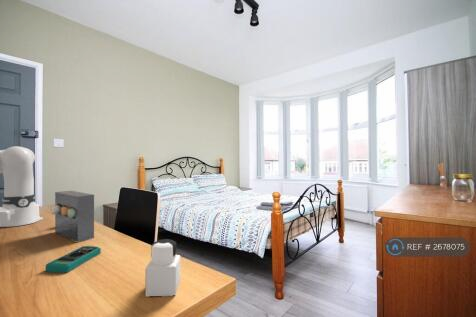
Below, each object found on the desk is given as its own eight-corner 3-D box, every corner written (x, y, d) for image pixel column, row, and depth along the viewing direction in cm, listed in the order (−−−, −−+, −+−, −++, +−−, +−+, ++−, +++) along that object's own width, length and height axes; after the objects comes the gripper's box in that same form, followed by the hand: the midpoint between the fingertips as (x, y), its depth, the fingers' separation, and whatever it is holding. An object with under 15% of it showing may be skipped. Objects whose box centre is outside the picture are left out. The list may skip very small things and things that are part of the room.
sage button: (67, 217, 94) (67, 208, 94) (74, 216, 96) (74, 207, 96) (71, 218, 92) (71, 209, 92) (78, 217, 94) (78, 208, 94)
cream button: (51, 213, 100) (51, 205, 100) (57, 212, 102) (57, 204, 102) (54, 214, 98) (54, 206, 98) (61, 213, 100) (61, 205, 100)
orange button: (60, 215, 98) (60, 206, 98) (67, 214, 100) (67, 205, 100) (64, 216, 96) (64, 207, 96) (71, 215, 98) (71, 206, 98)
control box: (55, 232, 104) (55, 192, 104) (70, 229, 109) (70, 190, 109) (77, 242, 92) (77, 196, 92) (94, 237, 97) (94, 194, 97)
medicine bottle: (153, 282, 62) (153, 237, 62) (180, 280, 63) (180, 236, 63) (145, 297, 55) (145, 247, 55) (175, 296, 56) (175, 246, 56)
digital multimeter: (102, 253, 82) (102, 245, 82) (67, 274, 67) (67, 264, 67) (83, 253, 82) (83, 244, 82) (43, 273, 68) (43, 263, 68)
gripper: (-44, 222, 80) (11, 214, 91) (-32, 233, 68) (29, 222, 80) (-44, 204, 80) (11, 198, 91) (-32, 212, 68) (29, 204, 80)
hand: (19, 209), depth 86 cm, fingers closed
